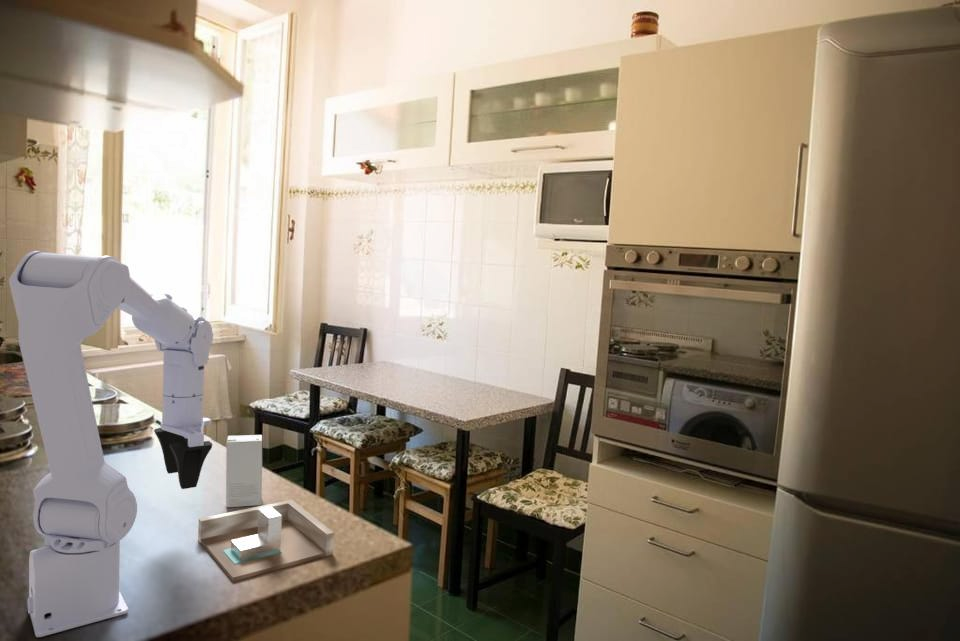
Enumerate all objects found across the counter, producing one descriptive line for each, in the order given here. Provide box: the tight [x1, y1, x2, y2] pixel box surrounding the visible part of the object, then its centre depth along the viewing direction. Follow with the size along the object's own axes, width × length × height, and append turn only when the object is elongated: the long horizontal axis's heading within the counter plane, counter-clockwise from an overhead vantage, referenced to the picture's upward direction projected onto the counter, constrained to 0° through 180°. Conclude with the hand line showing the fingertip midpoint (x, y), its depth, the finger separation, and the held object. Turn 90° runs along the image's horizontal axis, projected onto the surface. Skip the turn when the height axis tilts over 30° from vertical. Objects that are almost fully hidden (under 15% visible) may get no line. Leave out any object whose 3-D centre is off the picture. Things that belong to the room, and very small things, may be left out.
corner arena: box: [197, 499, 335, 583], centre depth 99 cm, size 15×15×4 cm
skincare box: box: [225, 434, 263, 508], centre depth 115 cm, size 6×4×12 cm
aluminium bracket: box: [231, 507, 282, 561], centre depth 96 cm, size 4×6×6 cm, turn 131°
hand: (181, 479), depth 99 cm, fingers open, 7 cm apart
